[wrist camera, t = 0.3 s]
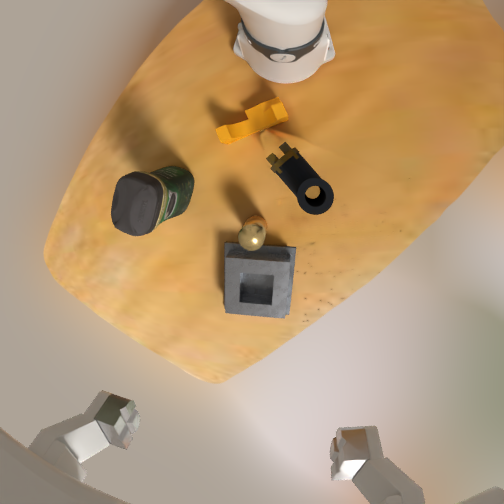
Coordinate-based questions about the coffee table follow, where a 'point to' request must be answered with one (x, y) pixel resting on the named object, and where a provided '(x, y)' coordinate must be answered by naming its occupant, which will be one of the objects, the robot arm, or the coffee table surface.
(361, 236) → the coffee table surface
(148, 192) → the coffee jar
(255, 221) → the tan cylinder
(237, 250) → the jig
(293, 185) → the pipe connector
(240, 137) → the pipe clamp
